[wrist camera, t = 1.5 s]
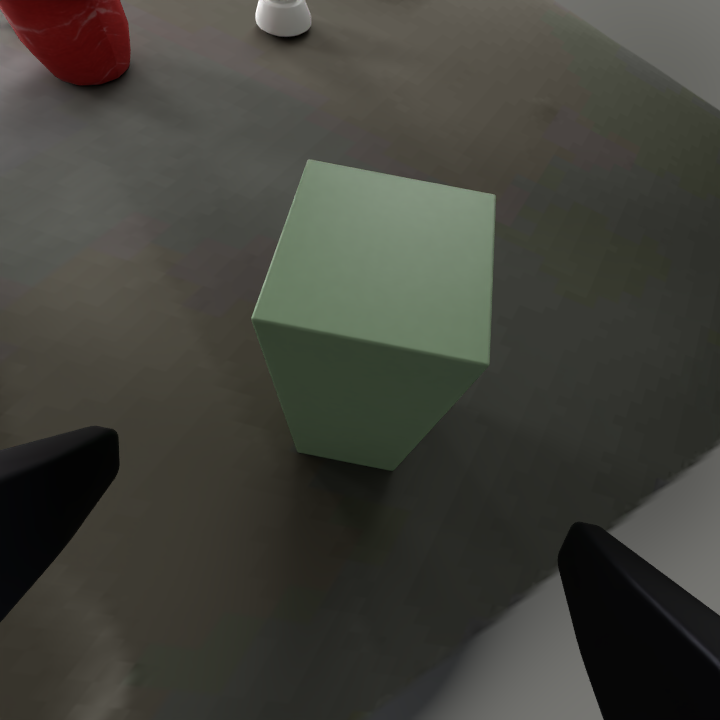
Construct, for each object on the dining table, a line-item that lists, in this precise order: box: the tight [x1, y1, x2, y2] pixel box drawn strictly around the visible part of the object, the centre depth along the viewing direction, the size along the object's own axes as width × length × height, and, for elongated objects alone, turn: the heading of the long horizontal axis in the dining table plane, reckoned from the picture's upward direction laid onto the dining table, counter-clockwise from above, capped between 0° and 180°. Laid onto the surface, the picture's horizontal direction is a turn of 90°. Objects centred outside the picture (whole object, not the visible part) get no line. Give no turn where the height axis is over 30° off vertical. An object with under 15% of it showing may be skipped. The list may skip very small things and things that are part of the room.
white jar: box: [256, 0, 311, 37], centre depth 35 cm, size 5×3×5 cm
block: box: [251, 160, 496, 471], centre depth 15 cm, size 5×5×13 cm
